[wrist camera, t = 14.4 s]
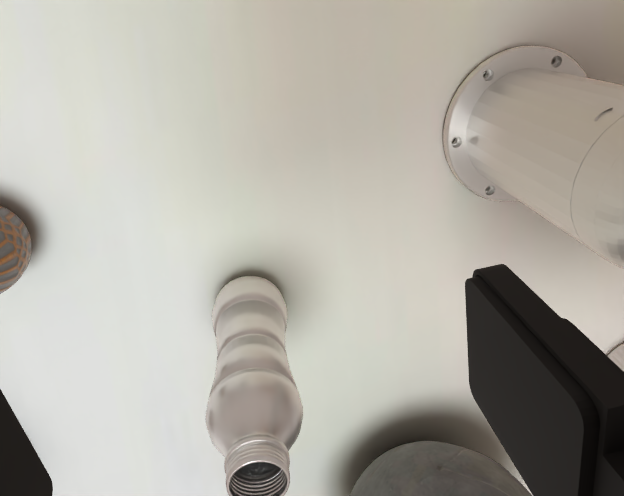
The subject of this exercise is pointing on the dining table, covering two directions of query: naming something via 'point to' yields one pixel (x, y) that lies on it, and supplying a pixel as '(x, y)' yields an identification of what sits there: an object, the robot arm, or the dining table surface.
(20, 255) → the vase
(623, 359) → the ramekin
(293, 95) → the dining table surface
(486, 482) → the bowl
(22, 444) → the robot arm
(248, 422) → the plastic bottle
